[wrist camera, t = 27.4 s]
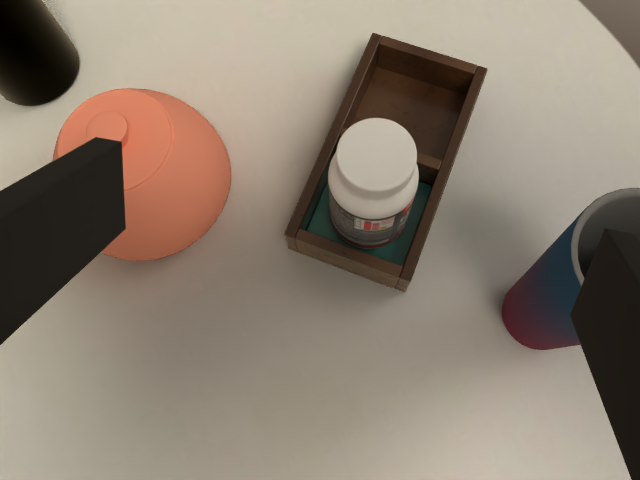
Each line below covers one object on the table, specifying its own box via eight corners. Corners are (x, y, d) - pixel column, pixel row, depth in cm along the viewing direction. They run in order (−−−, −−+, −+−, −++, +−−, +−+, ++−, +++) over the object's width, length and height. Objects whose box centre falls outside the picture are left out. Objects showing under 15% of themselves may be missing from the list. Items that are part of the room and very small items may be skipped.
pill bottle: (412, 246, 41) (434, 195, 32) (334, 255, 41) (332, 206, 32) (400, 174, 43) (417, 104, 33) (325, 182, 43) (321, 115, 33)
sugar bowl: (269, 180, 44) (248, 112, 34) (142, 321, 41) (80, 290, 31) (155, 94, 46) (106, 8, 37) (29, 220, 44) (-61, 164, 34)
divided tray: (477, 93, 45) (488, 68, 42) (404, 292, 41) (410, 281, 38) (370, 59, 47) (372, 32, 43) (288, 248, 42) (283, 234, 39)
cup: (494, 259, 41) (575, 176, 27) (590, 276, 41) (725, 200, 26) (483, 352, 39) (565, 316, 25) (584, 372, 39) (727, 345, 25)
